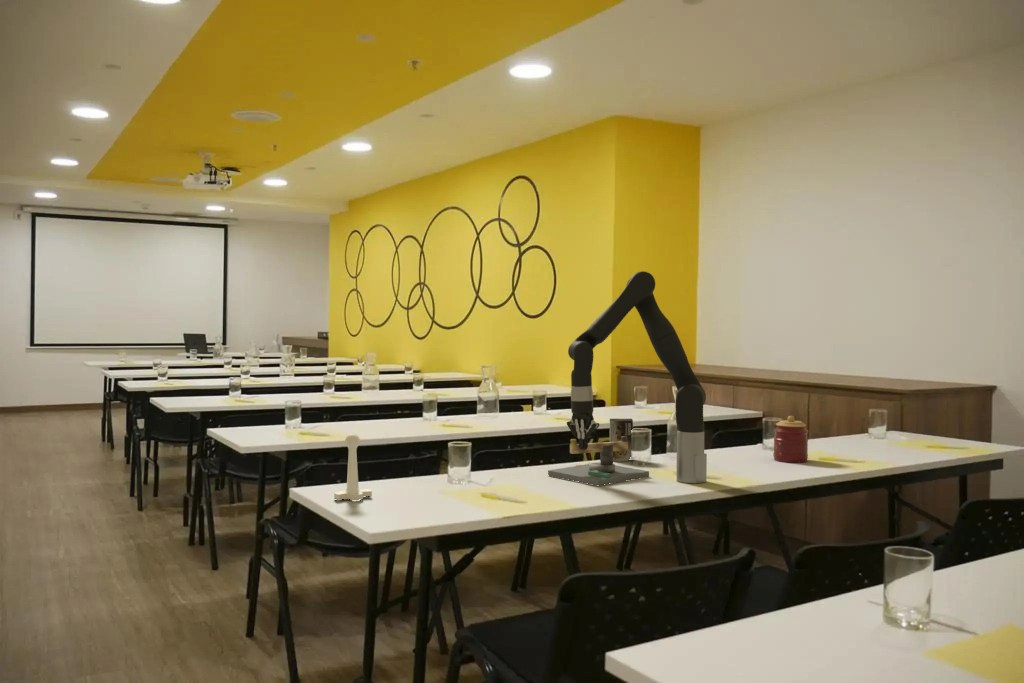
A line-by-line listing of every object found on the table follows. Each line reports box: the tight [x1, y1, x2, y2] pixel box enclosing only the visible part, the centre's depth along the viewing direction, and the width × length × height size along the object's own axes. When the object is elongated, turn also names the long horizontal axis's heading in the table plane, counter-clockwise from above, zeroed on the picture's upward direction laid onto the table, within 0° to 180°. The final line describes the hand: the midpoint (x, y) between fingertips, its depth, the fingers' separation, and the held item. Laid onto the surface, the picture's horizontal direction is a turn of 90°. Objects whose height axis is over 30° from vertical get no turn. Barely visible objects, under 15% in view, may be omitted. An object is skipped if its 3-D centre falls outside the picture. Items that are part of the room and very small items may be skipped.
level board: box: [547, 461, 650, 486], centre depth 300 cm, size 24×26×4 cm
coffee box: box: [609, 418, 634, 462], centre depth 334 cm, size 9×6×16 cm
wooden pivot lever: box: [569, 436, 628, 473], centre depth 298 cm, size 22×9×12 cm, turn 113°
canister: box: [773, 415, 809, 464], centre depth 335 cm, size 13×13×18 cm
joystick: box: [333, 433, 373, 501], centre depth 261 cm, size 11×8×20 cm
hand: (583, 449), depth 293 cm, fingers closed
